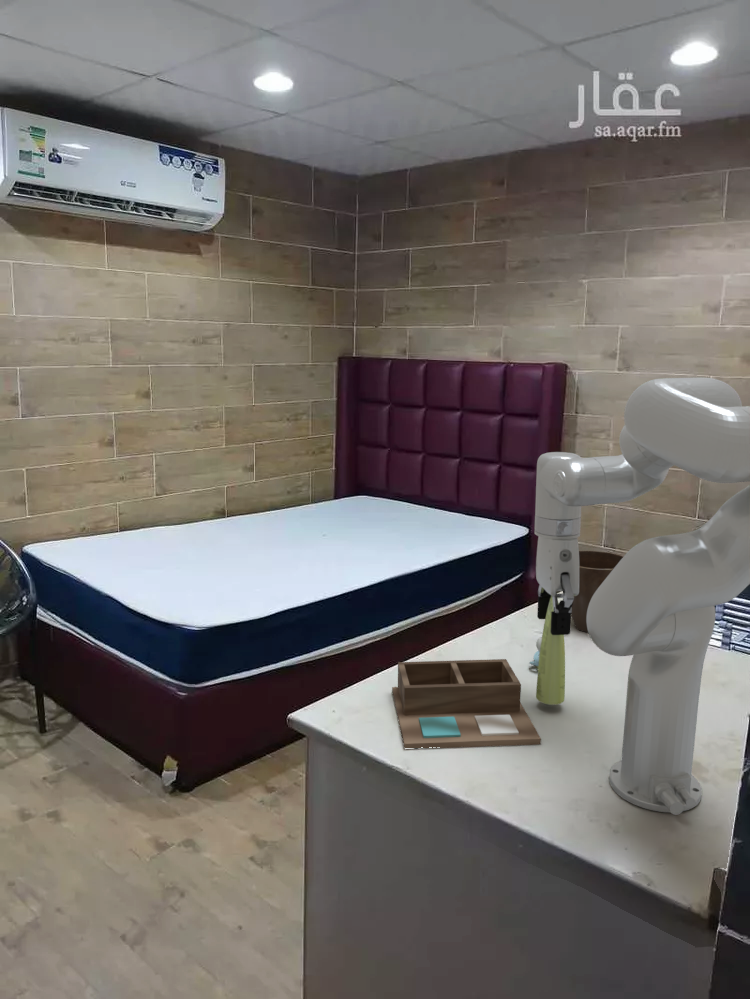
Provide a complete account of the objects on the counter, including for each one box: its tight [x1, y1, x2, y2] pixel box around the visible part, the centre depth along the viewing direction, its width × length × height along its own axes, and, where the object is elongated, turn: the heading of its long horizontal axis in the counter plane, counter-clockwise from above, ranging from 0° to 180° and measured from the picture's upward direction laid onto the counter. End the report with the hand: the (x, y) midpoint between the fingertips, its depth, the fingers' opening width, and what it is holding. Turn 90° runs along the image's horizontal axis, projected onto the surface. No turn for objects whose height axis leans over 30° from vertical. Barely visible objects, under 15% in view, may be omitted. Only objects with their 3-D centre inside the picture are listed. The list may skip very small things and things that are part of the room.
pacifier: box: [529, 636, 542, 670], centre depth 151 cm, size 7×6×6 cm
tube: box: [535, 596, 566, 706], centre depth 133 cm, size 6×5×20 cm
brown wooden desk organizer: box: [391, 658, 542, 749], centre depth 131 cm, size 20×22×6 cm
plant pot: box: [571, 550, 624, 633], centre depth 171 cm, size 15×15×16 cm
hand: (553, 625), depth 132 cm, fingers closed on tube, 7 cm apart
